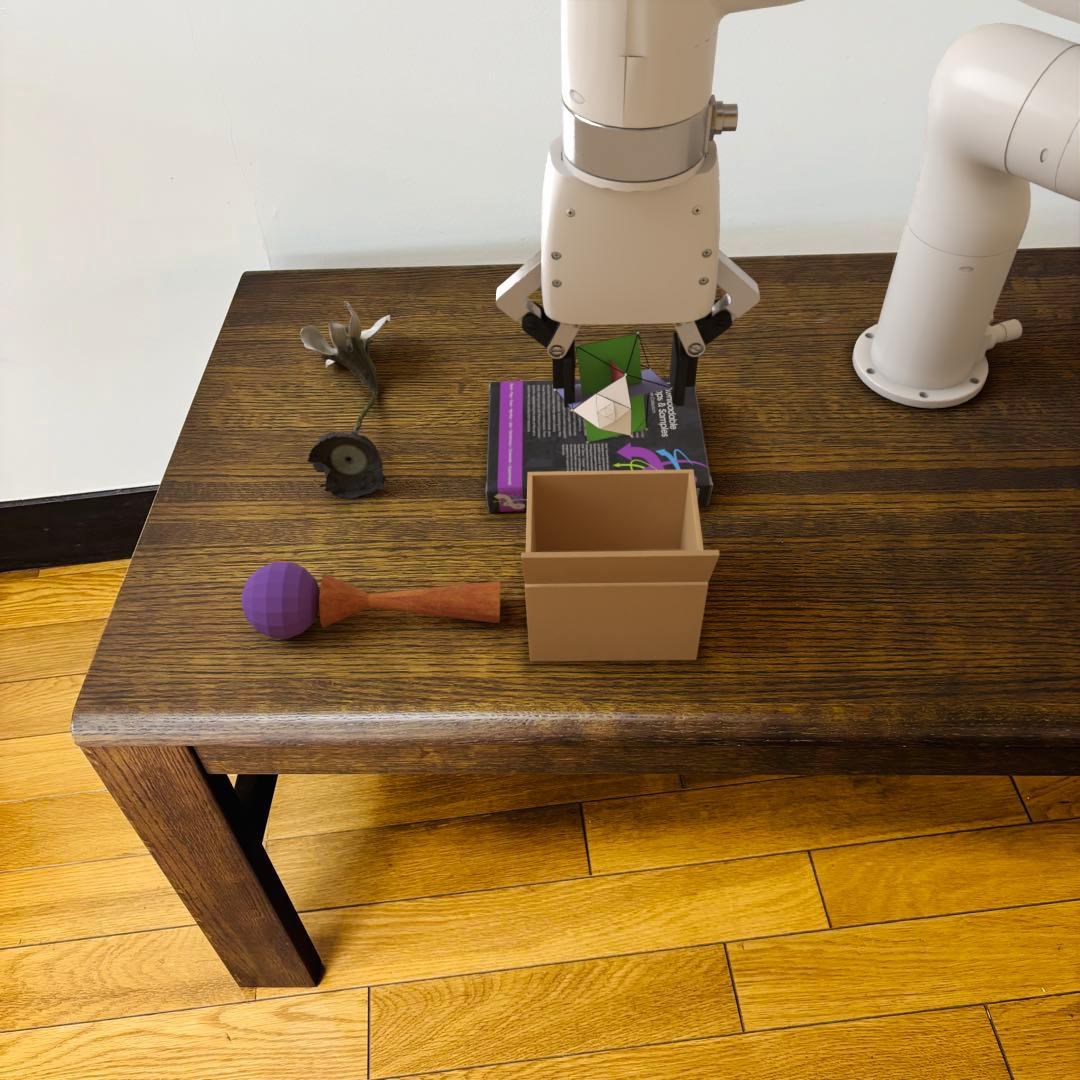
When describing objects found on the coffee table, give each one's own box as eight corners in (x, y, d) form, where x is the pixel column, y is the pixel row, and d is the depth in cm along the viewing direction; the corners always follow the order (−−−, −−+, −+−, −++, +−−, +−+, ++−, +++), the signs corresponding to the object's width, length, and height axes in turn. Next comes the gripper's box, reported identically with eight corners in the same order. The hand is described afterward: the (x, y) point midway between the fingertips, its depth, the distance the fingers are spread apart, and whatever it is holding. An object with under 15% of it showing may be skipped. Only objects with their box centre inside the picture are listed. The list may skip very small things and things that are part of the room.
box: (487, 517, 87) (710, 509, 87) (483, 490, 85) (714, 482, 84) (492, 408, 96) (695, 400, 96) (488, 380, 94) (697, 372, 93)
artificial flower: (304, 512, 90) (250, 425, 83) (348, 372, 106) (305, 291, 100) (395, 491, 88) (347, 401, 81) (425, 352, 104) (387, 268, 98)
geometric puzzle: (540, 361, 69) (558, 328, 61) (634, 342, 70) (664, 307, 62) (565, 462, 68) (586, 442, 61) (659, 441, 70) (692, 418, 62)
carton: (684, 547, 84) (693, 469, 77) (696, 660, 77) (708, 585, 69) (532, 549, 84) (527, 471, 77) (530, 661, 77) (524, 587, 70)
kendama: (500, 620, 75) (229, 617, 74) (498, 652, 80) (245, 650, 79) (500, 550, 78) (240, 547, 77) (499, 585, 83) (255, 583, 82)
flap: (719, 549, 64) (719, 555, 64) (708, 576, 69) (708, 582, 69) (521, 552, 64) (521, 558, 64) (525, 578, 69) (525, 584, 69)
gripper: (791, 91, 54) (748, 354, 67) (471, 98, 54) (493, 358, 68) (814, 162, 49) (763, 430, 63) (463, 169, 49) (488, 434, 63)
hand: (622, 390), depth 65 cm, fingers closed on geometric puzzle, 6 cm apart
